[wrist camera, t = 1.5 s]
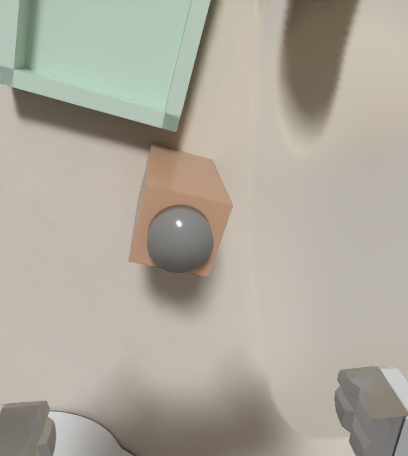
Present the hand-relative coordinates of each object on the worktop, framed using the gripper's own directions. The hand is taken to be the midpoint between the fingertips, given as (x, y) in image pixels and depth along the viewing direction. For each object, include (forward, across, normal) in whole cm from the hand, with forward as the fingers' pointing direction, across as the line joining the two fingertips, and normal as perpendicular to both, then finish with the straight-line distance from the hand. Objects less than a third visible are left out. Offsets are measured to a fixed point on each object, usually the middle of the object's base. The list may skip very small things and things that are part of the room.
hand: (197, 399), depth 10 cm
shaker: (+20, 0, 0) cm, 20 cm away
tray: (+20, +3, -12) cm, 23 cm away
